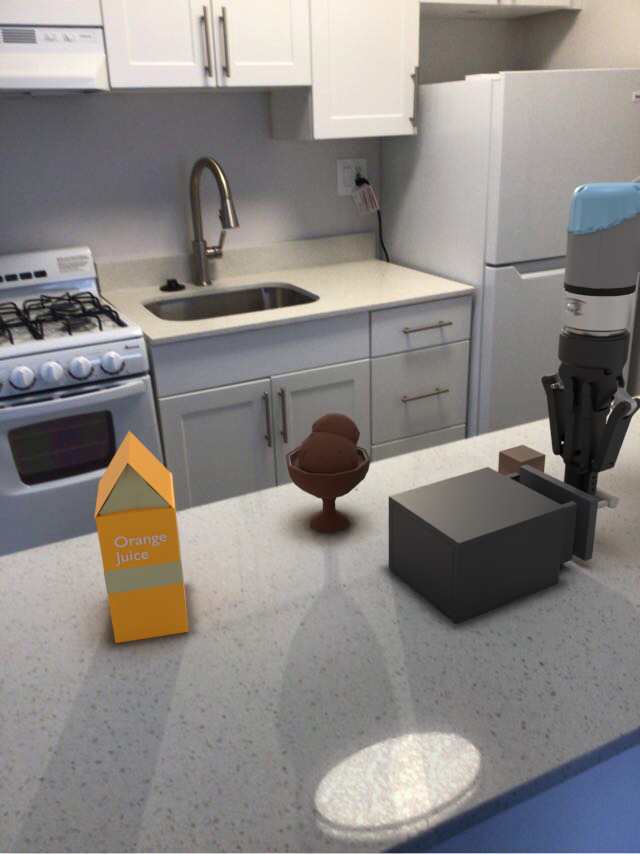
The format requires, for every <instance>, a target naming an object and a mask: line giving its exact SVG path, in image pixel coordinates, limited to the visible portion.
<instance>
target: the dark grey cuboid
mask: <svg viewBox="0 0 640 854" xmlns="http://www.w3.org/2000/svg"><path fill="white" fill-rule="evenodd" d="M564 517H565V506H563V505H561V504H559V503H557V502H555V501H553V500H551V499H549V498H547V497H545V496H543V495H541V494H539V493H538V492H536V491H534V490H532V489H530V488H528V487H526V486H524V485H522V484H520V483H518V482H516V481H514V480H512V479H511V478H509V477H507V476H505V475H503V474H501V473H499V472H498V470H496V469H493V468H491V467H490V466H486V467H482V468H479V469H476V470H473V471H470V472H466V473H463V474H458V475H456V476H455V475H454V476H452V477H449V478H445V479H442V480H438V481H435V482H432V483H428V484H425V485H421V486H418V487H414V488H411V489H407V490H404V491H401V492H398V493H395V494H391V495H388V569H389V571H391V572H392V573H393V574H395V575H396V576H397V577H398V578H399V579H401V580H402V581H403V582H404V583H405V584H407V585H408V586H409V587H411V588H412V589H413V590H415V592H417V593H418V594H419V595H420V596H421V597H423V598H424V599H425V600H426V601H428V602H429V603H430V604H431V605H432V606H434V607H435V608H436V609H437V610H439V612H441V614H442V613H443V614H444V615H445V616H446V617H447V618H448V619H450V620H451V621H452V622H453V623H455V624H459V623H461V622H464V621H466V620H468V619H470V618H473V617H476V616H478V615H481V614H483V613H486V612H488V611H490V610H493V609H494V610H495V609H496V608H499V607H501V606H503V605H506V604H508V603H511V602H514V601H516V600H519V599H521V598H523V597H526V596H528V595H530V594H533V593H536V592H538V591H540V590H543V589H545V588H548V587H551V586H553V585H555V584H558V583H559V579H560V571H561V570H560V568H561V564H560V559H561V549H562V538H563V527H564Z"/></svg>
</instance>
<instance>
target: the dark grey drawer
mask: <svg viewBox="0 0 640 854" xmlns="http://www.w3.org/2000/svg"><path fill="white" fill-rule="evenodd" d="M506 476H507V477H509V478H511V479H512V480H514V481H516V482H518V483H520V484H522V485H524V486H526V487H528V488H530V489H532V490H534V491H536V492H538V493H539V494H541V495H543V496H545V497H547V498H549V499H551V500H553V501H555V502H557V503H559V504H561V505H563V506H565V517H564V527H563V538H562V549H561V559H560V565H563V564H565V563H567V562H570V561H572V560H573V556H574V557H576V558H578V559H579V560H581V561H583V562H587V561H590V560H592V559H593V553H594V545H595V535H596V527H597V526H596V524H597V517H598V510H600V509H603V508H606V507H608V508H609V509H616V508H617V506H618V504H619V502H620V499H619V497H618V496H617V495H615V494H613V493H611V492H609V491H606V490H604V489H603V488H600V487H598V486H596V487H597V489H596V492H595V494H593V495H589V494H587V493H585V492H583V491H581V490H579V489H577V488H575V487H573V486H571V485H568V484H566V483H564V481H563V480H561V479H558V478H556V477H555V476H552V475H550V474H548V473H546V472H545V471H544V472H542V471H540V470H537V469H535V468H533V467H531V466H529V465H524V466H520V473H519V474H518V473H512V474H509V475H506Z"/></svg>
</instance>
